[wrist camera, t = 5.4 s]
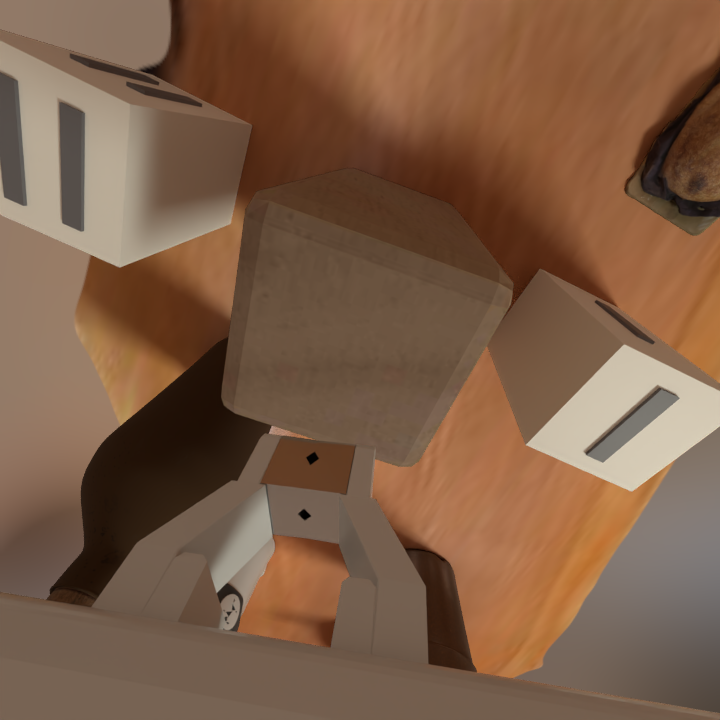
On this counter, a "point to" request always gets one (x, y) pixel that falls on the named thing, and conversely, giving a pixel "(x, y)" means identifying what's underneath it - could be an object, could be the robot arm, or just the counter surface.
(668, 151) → the bread roll
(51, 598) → the olive oil
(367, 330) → the block
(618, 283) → the counter surface
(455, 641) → the plant pot
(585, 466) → the marked block one
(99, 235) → the marked block two
